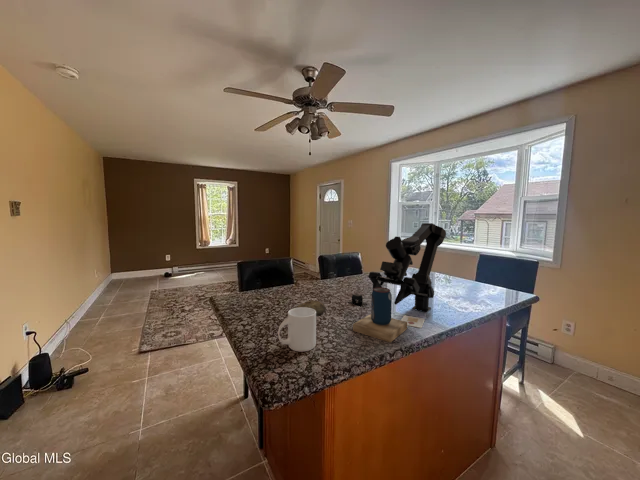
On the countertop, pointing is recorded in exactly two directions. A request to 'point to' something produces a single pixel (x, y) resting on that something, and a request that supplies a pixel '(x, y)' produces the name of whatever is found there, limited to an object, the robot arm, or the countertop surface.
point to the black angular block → (357, 297)
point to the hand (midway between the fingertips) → (383, 301)
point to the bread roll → (314, 306)
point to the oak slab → (380, 328)
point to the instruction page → (413, 321)
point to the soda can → (381, 306)
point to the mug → (300, 329)
